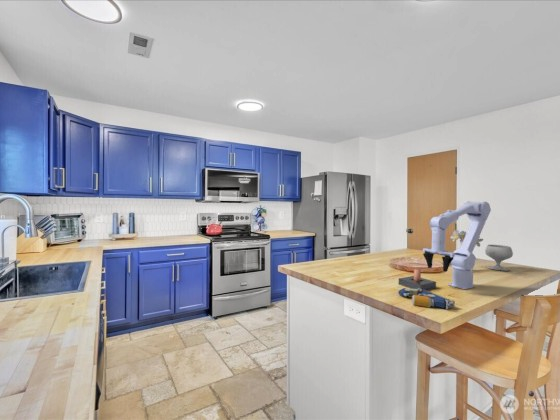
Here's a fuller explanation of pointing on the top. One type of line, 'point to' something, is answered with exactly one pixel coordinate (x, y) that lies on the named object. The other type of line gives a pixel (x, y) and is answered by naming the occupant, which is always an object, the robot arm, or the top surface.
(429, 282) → the collar block
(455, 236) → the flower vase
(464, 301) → the top surface
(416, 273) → the pin
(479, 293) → the top surface
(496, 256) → the chalice
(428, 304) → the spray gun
